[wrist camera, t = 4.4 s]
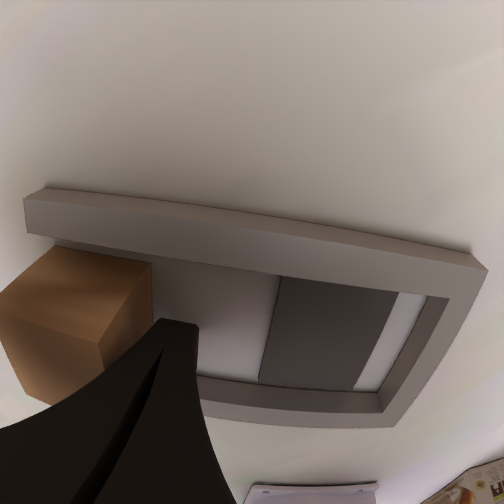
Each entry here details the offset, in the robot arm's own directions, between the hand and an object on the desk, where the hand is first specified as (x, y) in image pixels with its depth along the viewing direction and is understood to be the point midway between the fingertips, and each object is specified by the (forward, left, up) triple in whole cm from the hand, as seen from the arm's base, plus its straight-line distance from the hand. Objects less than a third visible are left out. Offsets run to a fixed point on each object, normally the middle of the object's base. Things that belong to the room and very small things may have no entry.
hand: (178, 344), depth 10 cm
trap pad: (-5, 0, -1) cm, 5 cm away
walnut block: (+3, 0, -1) cm, 4 cm away
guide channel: (-1, 0, -1) cm, 2 cm away
